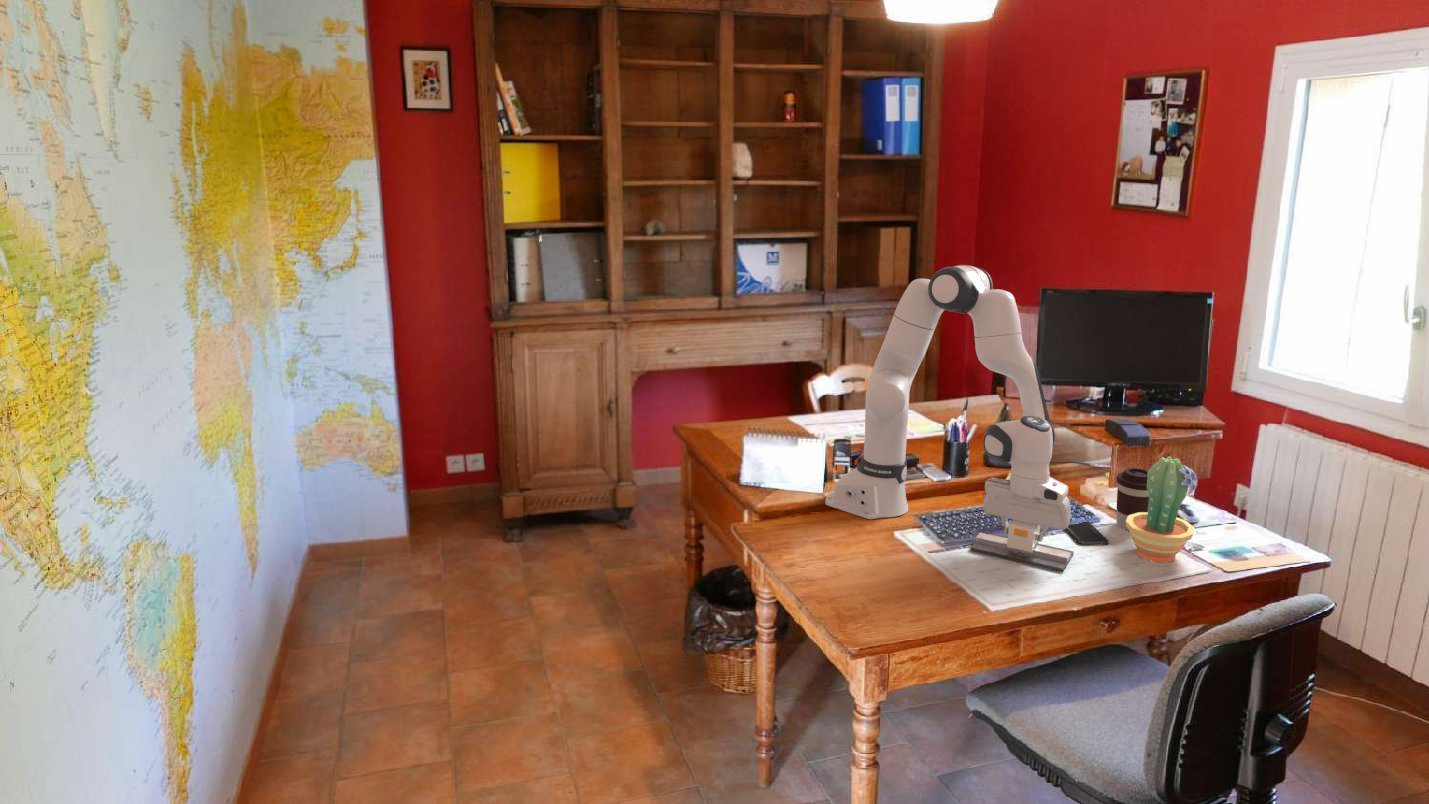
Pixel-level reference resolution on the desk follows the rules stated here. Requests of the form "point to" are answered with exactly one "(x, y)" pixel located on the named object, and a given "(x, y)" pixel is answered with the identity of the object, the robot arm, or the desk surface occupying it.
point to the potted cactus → (1163, 512)
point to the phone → (1086, 534)
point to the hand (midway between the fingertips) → (1023, 537)
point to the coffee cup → (1131, 494)
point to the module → (1022, 535)
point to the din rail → (1023, 552)
